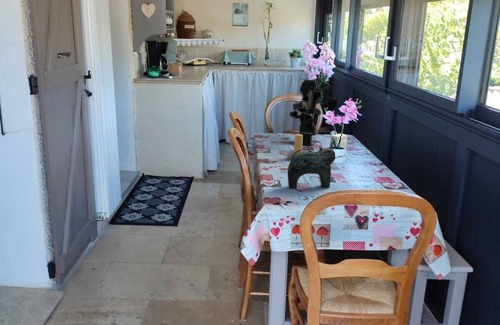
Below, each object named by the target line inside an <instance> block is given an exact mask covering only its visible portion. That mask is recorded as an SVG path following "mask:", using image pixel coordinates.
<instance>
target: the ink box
mask: <svg viewBox="0 0 500 325" xmlns="http://www.w3.org/2000/svg"><path fill="white" fill-rule="evenodd" d="M335 134H336V135H335ZM335 134H331V135H330V140H329V141H330V142H329V146H330V145H331V146H332V147H333V146H334V143H333V140H332V138H334V139H335V141H336V146H337V145H338V143H339V140H340V136H341V134H342V136H341V142H340V146H341V147H343V148H345V149H346V150H347V144H348V137H349V136H348V135H347V134H344V133H335Z"/></svg>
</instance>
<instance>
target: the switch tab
mask: <svg viewBox="0 0 500 325" xmlns="http://www.w3.org/2000/svg"><path fill="white" fill-rule="evenodd" d="M302 140H303V135H302V134H294V147H293V150H294V153H295V152H296V151H298V150H302V149H303V145H302ZM302 151H303V150H302ZM302 151H298V152H297V153H296V154H295V155H297V154H299V153H302Z"/></svg>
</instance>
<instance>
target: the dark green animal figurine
mask: <svg viewBox="0 0 500 325" xmlns="http://www.w3.org/2000/svg"><path fill="white" fill-rule="evenodd" d="M312 143H313V145H312V146H314V145H315V144H317V143H319V144H320V146H319V147H318V148H319V150H318V151H313V150H310V149H304V148H302V150H298V151H303V150H307V152H302V153H299V154H297V155H295V154H296V153H297V152H298V151H296V152H295V153H294V154H293V156H294V155H295V156H294V157H293V156H292V160H291V161H290V162H289V164H288V167H287V182H288V183H287V184H288V185H287V186H288V188H289V189H290V190H291V189H292V190H293V189H296V190H297V189H298V182H299V179H300V178H301V177H302V176H304V175H306V174H307V175H308V174H313V175H318V176H319V179H320V180H319V181H320V188H322V189H326V188H328V189H329V188H330V187H331V176H332V169H331V168H332V167H331V165H332V164H333V163H334V162H335V160H336V158H335V152H334V150H333V148H332V146H331V145H330V144H329V147H323V145H322V142H320V141H319V140H316V141H314V142H312Z"/></svg>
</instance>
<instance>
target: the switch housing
mask: <svg viewBox="0 0 500 325" xmlns="http://www.w3.org/2000/svg"><path fill="white" fill-rule="evenodd" d="M303 149H307V147H306V148H303ZM307 150H308V149H307ZM307 150H302V152H308V151H307ZM293 154H294V149H293V150H291V151H290V152H289V154H288V155H287V157H286V161H290V162H291V160H292V156H293ZM294 156H295V155H294ZM294 156H293V157H294Z"/></svg>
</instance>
